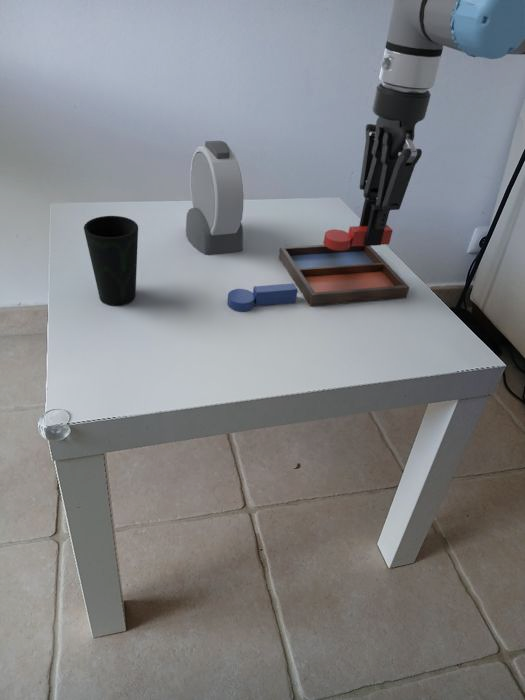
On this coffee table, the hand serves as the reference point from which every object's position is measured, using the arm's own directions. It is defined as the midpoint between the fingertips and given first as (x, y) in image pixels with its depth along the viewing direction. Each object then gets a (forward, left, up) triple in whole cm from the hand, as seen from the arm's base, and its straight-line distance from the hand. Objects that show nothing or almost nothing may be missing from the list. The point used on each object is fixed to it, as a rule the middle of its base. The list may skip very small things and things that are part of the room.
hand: (368, 240), depth 87 cm
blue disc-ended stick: (+10, +16, -9) cm, 21 cm away
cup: (+28, +30, -9) cm, 42 cm away
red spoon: (+2, +2, 0) cm, 3 cm away
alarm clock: (+30, +3, -9) cm, 32 cm away
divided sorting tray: (+4, -1, -9) cm, 10 cm away
